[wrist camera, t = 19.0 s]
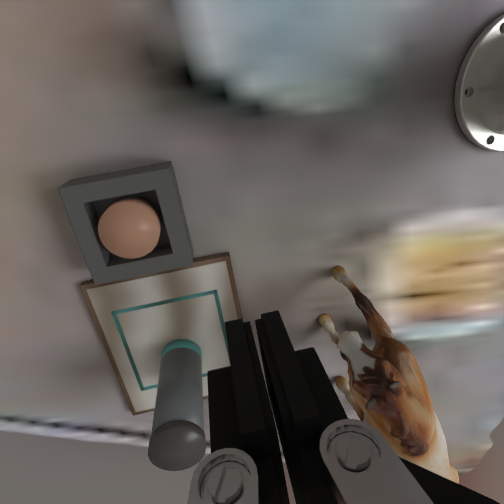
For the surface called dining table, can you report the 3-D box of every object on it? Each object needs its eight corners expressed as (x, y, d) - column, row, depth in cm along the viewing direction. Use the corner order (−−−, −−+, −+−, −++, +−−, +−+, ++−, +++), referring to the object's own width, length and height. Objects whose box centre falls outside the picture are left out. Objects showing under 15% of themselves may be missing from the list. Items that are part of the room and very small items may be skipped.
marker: (197, 334, 39) (199, 424, 28) (206, 366, 41) (210, 462, 30) (155, 343, 39) (141, 438, 28) (166, 375, 41) (156, 476, 30)
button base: (171, 161, 33) (169, 168, 29) (193, 250, 36) (193, 264, 33) (71, 179, 32) (57, 188, 29) (103, 268, 36) (95, 285, 32)
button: (153, 190, 32) (150, 198, 30) (167, 241, 34) (165, 252, 32) (97, 201, 31) (89, 209, 29) (114, 252, 33) (108, 263, 31)
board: (228, 252, 37) (229, 255, 36) (254, 382, 44) (256, 387, 44) (82, 282, 36) (79, 286, 35) (133, 410, 43) (132, 416, 42)
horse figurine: (281, 251, 38) (367, 402, 19) (350, 227, 38) (502, 354, 19) (338, 438, 51) (422, 636, 32) (389, 420, 51) (503, 607, 32)
